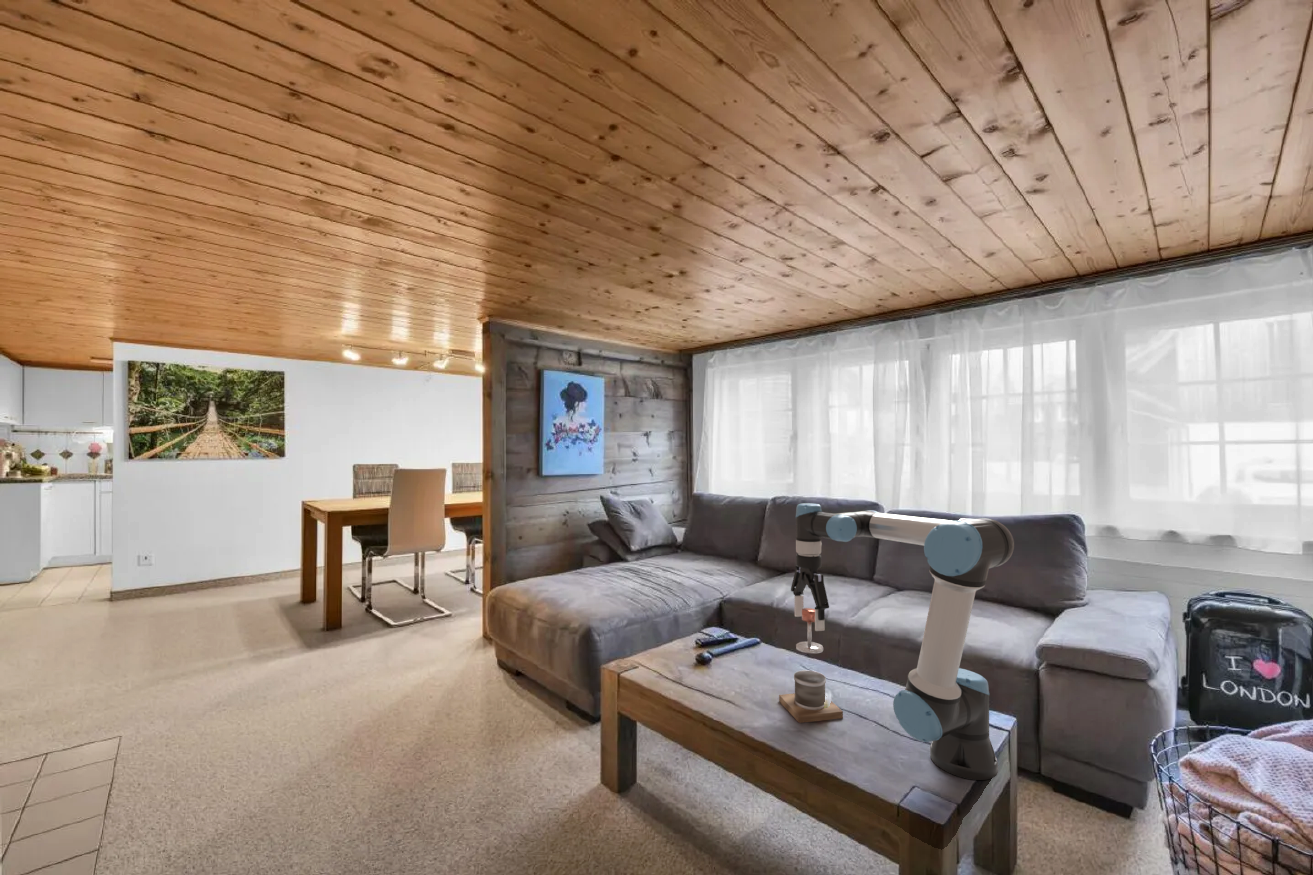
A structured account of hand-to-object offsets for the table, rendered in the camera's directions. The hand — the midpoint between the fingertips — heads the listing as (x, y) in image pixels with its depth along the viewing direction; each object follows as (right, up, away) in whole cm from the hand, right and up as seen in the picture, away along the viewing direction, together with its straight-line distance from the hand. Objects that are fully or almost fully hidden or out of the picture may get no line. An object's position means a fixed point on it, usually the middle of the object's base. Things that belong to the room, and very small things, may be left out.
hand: (809, 623), depth 170 cm
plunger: (0, -8, 0) cm, 8 cm away
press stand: (0, -26, 0) cm, 26 cm away
